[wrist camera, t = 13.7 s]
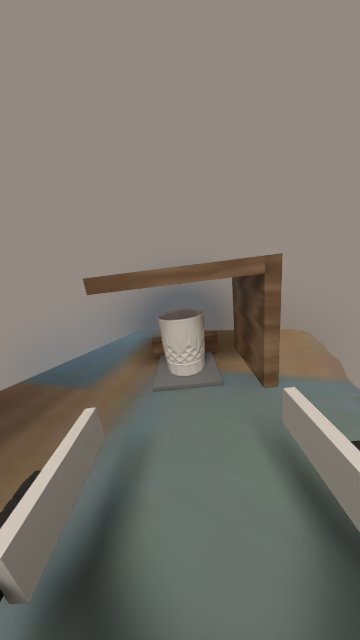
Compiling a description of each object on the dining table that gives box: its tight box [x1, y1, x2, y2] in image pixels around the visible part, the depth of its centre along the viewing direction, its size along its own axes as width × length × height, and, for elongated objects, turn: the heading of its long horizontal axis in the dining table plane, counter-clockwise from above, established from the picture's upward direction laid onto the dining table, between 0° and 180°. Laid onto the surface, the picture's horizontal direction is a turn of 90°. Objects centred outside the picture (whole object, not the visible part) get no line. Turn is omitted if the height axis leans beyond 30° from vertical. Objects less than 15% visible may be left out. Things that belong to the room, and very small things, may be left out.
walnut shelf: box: [83, 253, 282, 387], centre depth 30 cm, size 14×24×18 cm, turn 89°
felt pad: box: [152, 350, 223, 391], centre depth 32 cm, size 11×11×1 cm
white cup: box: [157, 309, 205, 376], centre depth 30 cm, size 8×8×10 cm
